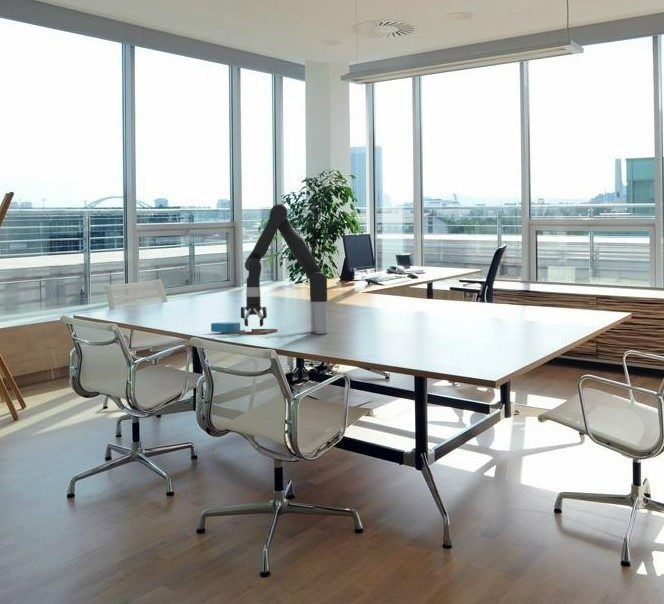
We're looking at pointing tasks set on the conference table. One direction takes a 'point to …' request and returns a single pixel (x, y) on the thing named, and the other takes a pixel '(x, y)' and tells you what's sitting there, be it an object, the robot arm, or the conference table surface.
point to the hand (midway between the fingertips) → (253, 326)
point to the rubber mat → (232, 332)
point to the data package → (225, 327)
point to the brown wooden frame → (256, 332)
